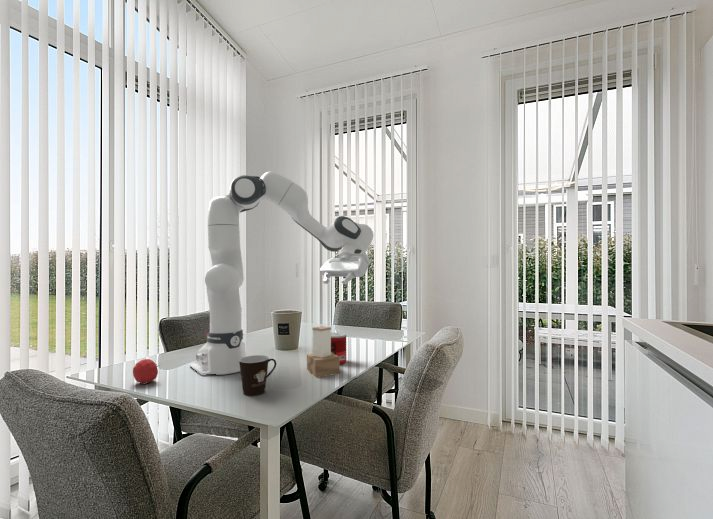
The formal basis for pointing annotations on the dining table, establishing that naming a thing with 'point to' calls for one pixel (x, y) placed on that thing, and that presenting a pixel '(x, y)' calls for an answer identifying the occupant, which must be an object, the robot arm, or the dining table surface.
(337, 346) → the canned food
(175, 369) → the dining table surface
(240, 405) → the dining table surface
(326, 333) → the pink-rimmed square pillar
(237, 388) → the dining table surface
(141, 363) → the tomato
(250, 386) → the coffee mug
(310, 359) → the block
